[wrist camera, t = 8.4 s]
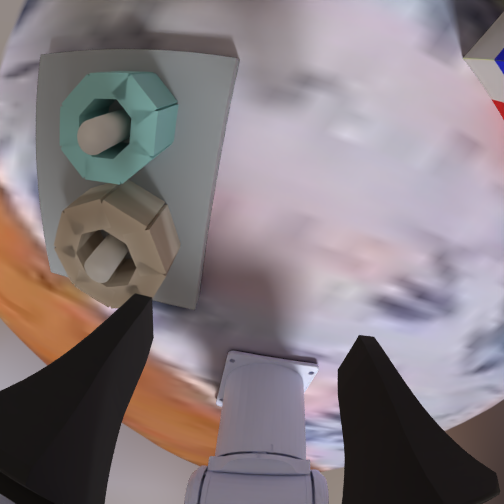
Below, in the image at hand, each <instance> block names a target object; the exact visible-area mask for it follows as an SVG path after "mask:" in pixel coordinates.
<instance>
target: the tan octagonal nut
mask: <svg viewBox="0 0 504 504" xmlns="http://www.w3.org/2000/svg"><path fill="white" fill-rule="evenodd" d="M164 204H165V201H163V200H161V199H160V198H158V197H156V196H155V195H153V194H152V193H150V192H148V191H147V190H145V189H143V188H142V187H140V186H138V185H137V184H135V183H134V182H132V181H130V180H129V179H128V180H127V181H126V182H124V183H123V184H120V185H118V184H112V183H107V184H104V185H100V186H97V187H94V188H90V189H89V190H88V191H86V192H85V193H84V194H83V195H81V196H80V197H79V198H77V199H76V200H75V201H74V202H72V203H71V204H70V205H69V206H67V207H66V208H65V209H64V210H63V211H62V213H61V217H60V221H59V225H58V229H57V233H56V237H55V241H54V246H55V248H54V249H55V251H56V253H57V255H58V258H59V260H60V261H61V263H62V265H63V267H64V269H65V271H66V273H67V275H68V277H69V279H70V281H71V282H72V284H75V287H76V288H78V289H80V290H81V291H83V292H84V293H86V294H87V295H89V296H91V297H92V298H94V299H95V300H97V301H99V302H100V303H102V304H104V305H105V306H107V307H109V306H110V307H111V308H120V307H121V306H122V305H123V304H124V303H125V302H126V301H127V300H128V299H129V298H130V297H131V296H132V295H134V294H135V293H136V294H141V295H145V296H149V297H152V299H153V297H154V295H155V294H156V292H157V290H158V289H159V287H160V286H161V284H162V282H163V281H164V279H165V277H166V276H167V273H168V271H169V269H170V267H171V265H172V263H173V261H174V259H175V257H176V255H177V253H178V251H179V249H180V244H181V243H180V241H179V238H178V235H177V232H176V229H175V226H174V223H173V220H172V217H171V213H170V210H169V207H168V205H164ZM102 229H103V230H105V231H106V232H108V233H109V234H111V235H112V236H114V237H116V238H117V239H119V240H121V241H122V242H124V243H125V244H126V245H127V247H128V249H129V252H130V254H131V257H132V258H131V259H125V258H123V260H122V261H121V262H120V264H119V265H118V267H117V268H116V270H115V271H114V273H113V274H112V276H111V277H110V279H109V280H108V281H107V282H105V283H98V282H96V281H94V280H92V279H91V278H90V277H89V276H88V275H87V273H86V271H85V268H84V264H85V261H86V260H87V259H88V257H89V256H90V255H91V254H92V253H93V251H94V250H95V249H96V248H97V247H98V246H99V244H100V243H101V242H102V241H103V240H104V238H103V236H102V234H101V231H100V230H102Z"/></svg>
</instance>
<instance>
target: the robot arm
mask: <svg viewBox="0 0 504 504" xmlns="http://www.w3.org/2000/svg"><path fill="white" fill-rule="evenodd" d="M153 338H154V337H153V310H152V297H149V296H145V295H141V294H136V293H135V294H134V295H132V296H131V297H130V298H129V299H128V300H127V301H126V302H125V303H124V304H123V305H122V306H121V307H120V308H119V309H117V310H116V311H115V312H114V313H113V314H112V315H111V316H110V317H109V318H108V319H107V320H105V321H104V322H103V323H102V324H101V325H100V326H99V327H97V328H96V329H95V330H94V331H93V332H92V333H91V334H89V335H88V336H87V337H86V338H84V339H83V340H82V341H81V342H79V343H78V344H77V345H76V346H75V347H73V348H72V349H71V350H69V351H68V352H67V353H65V354H64V355H62V356H61V357H60V358H58V359H57V360H55V361H54V362H52V363H51V364H49V365H48V366H46V367H45V368H43V369H41V370H40V371H38V372H36V373H35V374H33V375H31V376H29V377H28V378H26V379H24V380H22V381H20V382H18V383H16V384H14V385H12V386H10V387H8V388H6V389H4V390H1V391H0V504H104V503H105V496H106V489H107V482H108V477H109V472H110V467H111V462H112V458H113V454H114V449H115V445H116V441H117V437H118V433H119V430H120V426H121V423H122V420H123V417H124V414H125V411H126V409H127V406H128V404H129V402H130V399H131V397H132V394H133V392H134V390H135V387H136V385H137V383H138V380H139V378H140V376H141V373H142V371H143V369H144V366H145V364H146V361H147V358H148V354H149V351H150V348H151V344H152V341H153ZM318 370H319V366H318V365H317V364H315V363H307V362H300V361H293V360H286V359H280V358H273V357H267V356H261V355H255V354H250V353H244V352H239V351H230V352H228V355H227V359H226V363H225V367H224V372H223V376H222V380H221V384H220V388H219V392H218V396H217V400H216V404H217V405H218V406H222V412H221V419H220V425H219V432H218V439H217V446H216V453H215V456H210V457H209V463H208V466H200V467H199V468H198V469H197V470H196V471H194V472H193V473H192V475H191V477H190V479H189V481H188V485H187V489H186V494H185V501H184V504H329V496H328V486H327V481H326V478H325V477H324V476H323V475H322V474H321V473H320V472H319V471H318V470H310V460H306V438H305V407H304V392H305V391H306V389H307V388H308V386H309V385H310V383H311V381H312V380H313V378H314V377H315V375H316V373H317V372H318ZM338 400H339V408H340V416H341V424H342V432H343V441H344V453H345V466H344V469H345V470H344V487H343V498H342V504H483V503H485V502H487V501H489V500H490V499H492V498H494V497H496V496H497V495H499V493H500V489H499V483H498V479H497V475H496V473H495V472H494V471H492V470H491V469H489V468H488V467H486V466H485V465H483V464H482V463H480V462H479V461H477V460H476V459H475V458H473V457H472V456H471V455H470V454H468V453H467V452H466V451H465V450H463V449H462V448H461V447H460V446H459V445H458V444H457V443H456V442H455V441H454V440H453V439H452V438H451V437H450V436H448V435H447V434H446V433H445V431H444V430H443V429H442V428H441V427H440V426H439V425H438V424H437V423H436V422H435V421H434V419H433V418H432V417H431V416H430V415H429V414H428V412H427V411H426V410H425V409H424V407H423V406H422V405H421V404H420V402H419V401H418V400H417V398H416V397H415V396H414V394H413V393H412V391H411V390H410V389H409V387H408V386H407V384H406V383H405V382H404V380H403V379H402V377H401V376H400V374H399V373H398V371H397V370H396V368H395V367H394V365H393V364H392V362H391V361H390V359H389V358H388V356H387V355H386V353H385V352H384V350H383V349H382V347H381V346H380V344H379V343H378V342H377V340H376V339H375V338H374V337H371V336H363V335H359V336H358V338H357V340H356V341H355V343H354V345H353V346H352V348H351V349H350V351H349V353H348V354H347V356H346V358H345V359H344V361H343V362H342V364H341V365H340V367H339V369H338Z"/></svg>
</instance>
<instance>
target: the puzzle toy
mask: <svg viewBox="0 0 504 504" xmlns="http://www.w3.org/2000/svg"><path fill="white" fill-rule="evenodd" d="M463 59H464V61H465V62H466V63H467V65H468V66H469V67H470V69H471V70H472V71H473V73H474V74H475V75H476V77H477V78H478V80H479V81H480V83H481V84H482V86H483V87H484V88H485V90H486V92H487V93H488V95H489V96H490V98H491V99H492V101H493V102H494V104H495V106H496V107H497V109H498V111H499V112H500V114H501V116H502V117H503V119H504V12H503V13H502V14H501V15H500V16H499V18H498V19H497V20H496V21H495V22H494V23H493V25H492V26H491V27H490V28H489V29H488V30H487V31H486V33H485V34H484V35H483V36H482V37H481V38H480V39H479V40H478V42H477V43H476V44H475V45H474V46H473V47H472V48H471V50H470V51H469V52H468V53H467V54H466V55H465V56H464V57H463Z"/></svg>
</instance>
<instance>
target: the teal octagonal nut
mask: <svg viewBox="0 0 504 504" xmlns="http://www.w3.org/2000/svg"><path fill="white" fill-rule="evenodd" d="M116 99H117V100H118V102H119V103H120V104H121V106H122V107H123V108H124V110H125V111H126V112H127V113H128V115H129V116H130V117H131V130H130V143H124V142H119V143H118V144H116V145H114V146H112V147H110V148H108V149H106V150H105V151H103V152H101V153H99V154H97V155H89V154H87V153H85V152H84V151H83V150H82V149H81V148H80V146H79V144H78V140H77V133H78V129H79V127H80V126H81V124H82V123H83V122H85V121H86V120H89V119H92V118H95V117H98V116H101V115H104V114H107V113H109V106H110V105H111V104H112V103H113V102H114V101H115V100H116ZM177 102H178V101H177V100H176V99H175V97H174V96H173V95H172V93H171V92H170V91H169V90H168V88H167V87H166V86H165V84H164V83H163V82H162V81H161V79H160V78H159V77H158V75H157V74H156V73H154V72H139V71H111V72H96V73H90V74H87V75H86V76H85V77H84V78H83V79H82V80H81V82H80V83H79V84H78V85H77V86H76V87H75V88H74V89H73V91H72V92H71V93H70V94H69V95H68V96H67V98H66V99H65V100H64V101H63V103H62V106H61V107H60V146H62V147H61V150H62V151H63V153H64V154H65V155H66V157H67V158H68V159H69V161H70V162H71V163H72V165H73V166H74V167H75V169H76V170H77V171H78V172H79V174H80V175H81V176H82V178H84V177H85V180H92V181H99V182H105V183H112V184H118V185H120V184H123V183H124V182H126V181H127V180H128V179H129V178H130V177H132V176H133V175H134V174H135V173H137V172H138V171H139V170H140V169H142V168H143V167H144V166H145V165H147V164H148V163H149V162H150V161H151V160H153V159H154V158H155V157H156V156H158V155H159V154H160V153H161V152H163V151H164V150H165V149H166V148H168V147H169V146H170V145H171V144H172V142H174V135H175V127H176V120H177V113H178V106H179V104H176V103H177Z"/></svg>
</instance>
